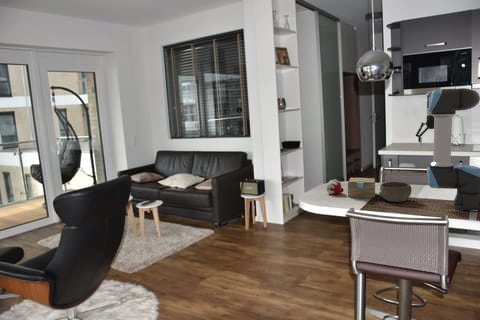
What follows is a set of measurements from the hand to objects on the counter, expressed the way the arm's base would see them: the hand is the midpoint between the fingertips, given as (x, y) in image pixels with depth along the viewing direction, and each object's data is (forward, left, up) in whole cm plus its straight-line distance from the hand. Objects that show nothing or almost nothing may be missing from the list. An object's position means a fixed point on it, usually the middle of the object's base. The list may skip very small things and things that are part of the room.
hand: (432, 147), depth 261 cm
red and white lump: (-27, +60, -28) cm, 72 cm away
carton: (-27, +43, -28) cm, 58 cm away
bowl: (-38, +23, -28) cm, 53 cm away
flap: (-31, +43, -20) cm, 57 cm away
